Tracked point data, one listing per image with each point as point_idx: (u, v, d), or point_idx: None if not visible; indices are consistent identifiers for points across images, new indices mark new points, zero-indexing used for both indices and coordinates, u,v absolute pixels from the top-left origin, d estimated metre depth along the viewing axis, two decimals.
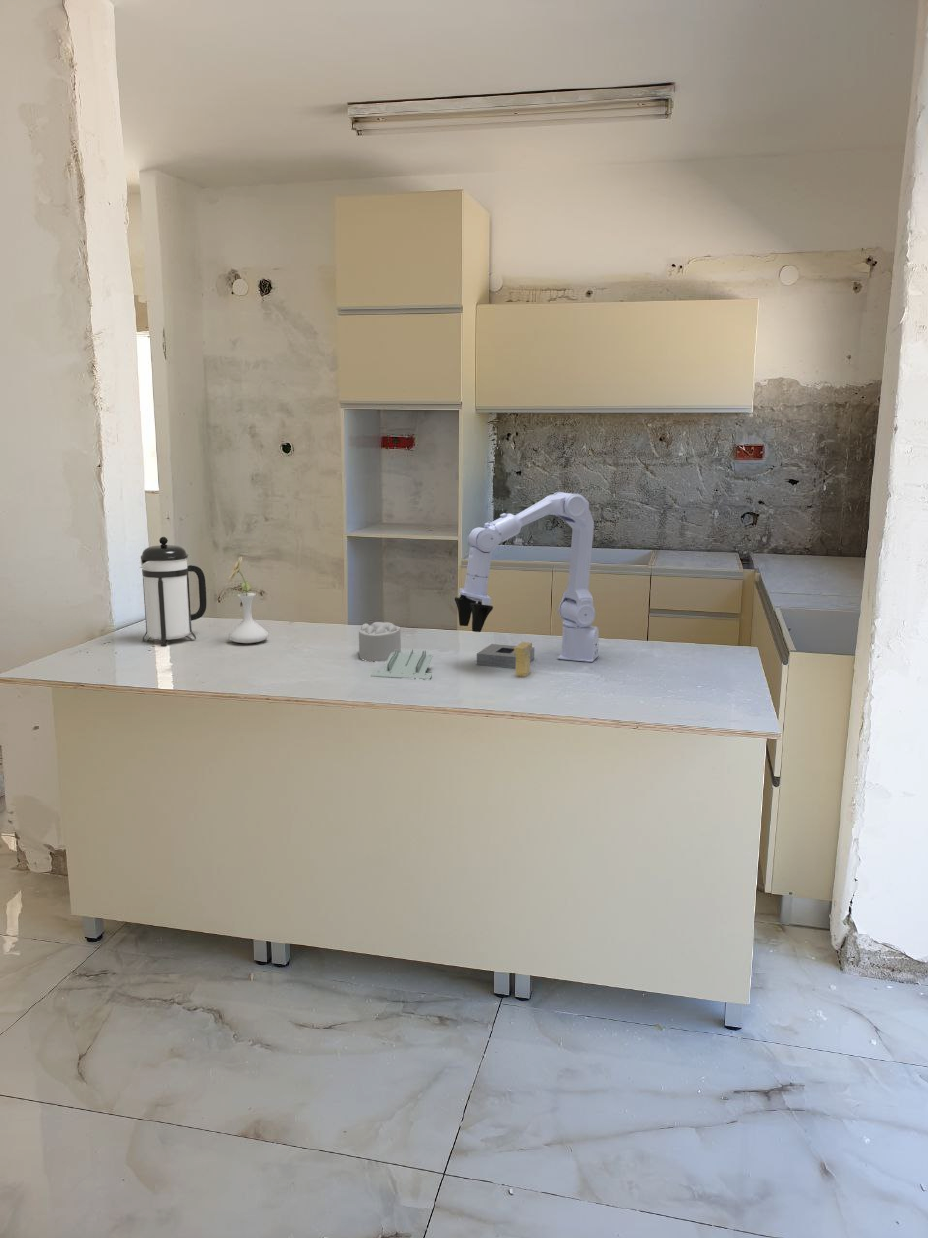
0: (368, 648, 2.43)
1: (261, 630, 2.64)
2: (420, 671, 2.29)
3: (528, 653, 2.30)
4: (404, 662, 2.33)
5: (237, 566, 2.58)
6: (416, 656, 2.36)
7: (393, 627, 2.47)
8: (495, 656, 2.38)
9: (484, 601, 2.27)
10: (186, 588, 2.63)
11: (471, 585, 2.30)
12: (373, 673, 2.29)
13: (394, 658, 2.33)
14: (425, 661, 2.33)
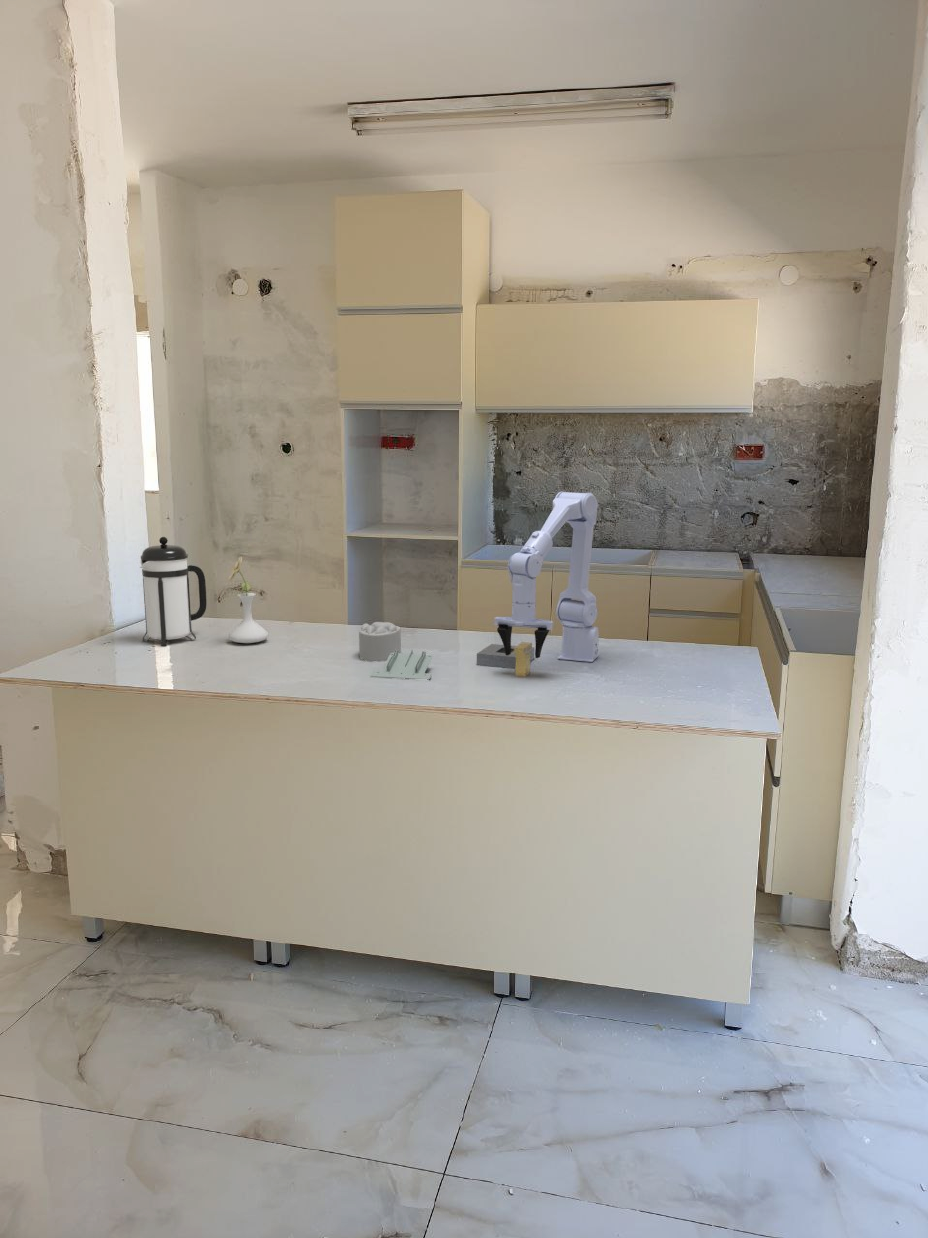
0: (368, 648, 2.43)
1: (261, 630, 2.64)
2: (419, 671, 2.29)
3: (528, 653, 2.30)
4: (404, 662, 2.33)
5: (237, 566, 2.59)
6: (416, 656, 2.35)
7: (393, 627, 2.47)
8: (495, 656, 2.38)
9: (551, 626, 2.25)
10: (186, 588, 2.63)
11: (528, 613, 2.25)
12: (372, 673, 2.29)
13: (393, 658, 2.33)
14: (425, 661, 2.33)
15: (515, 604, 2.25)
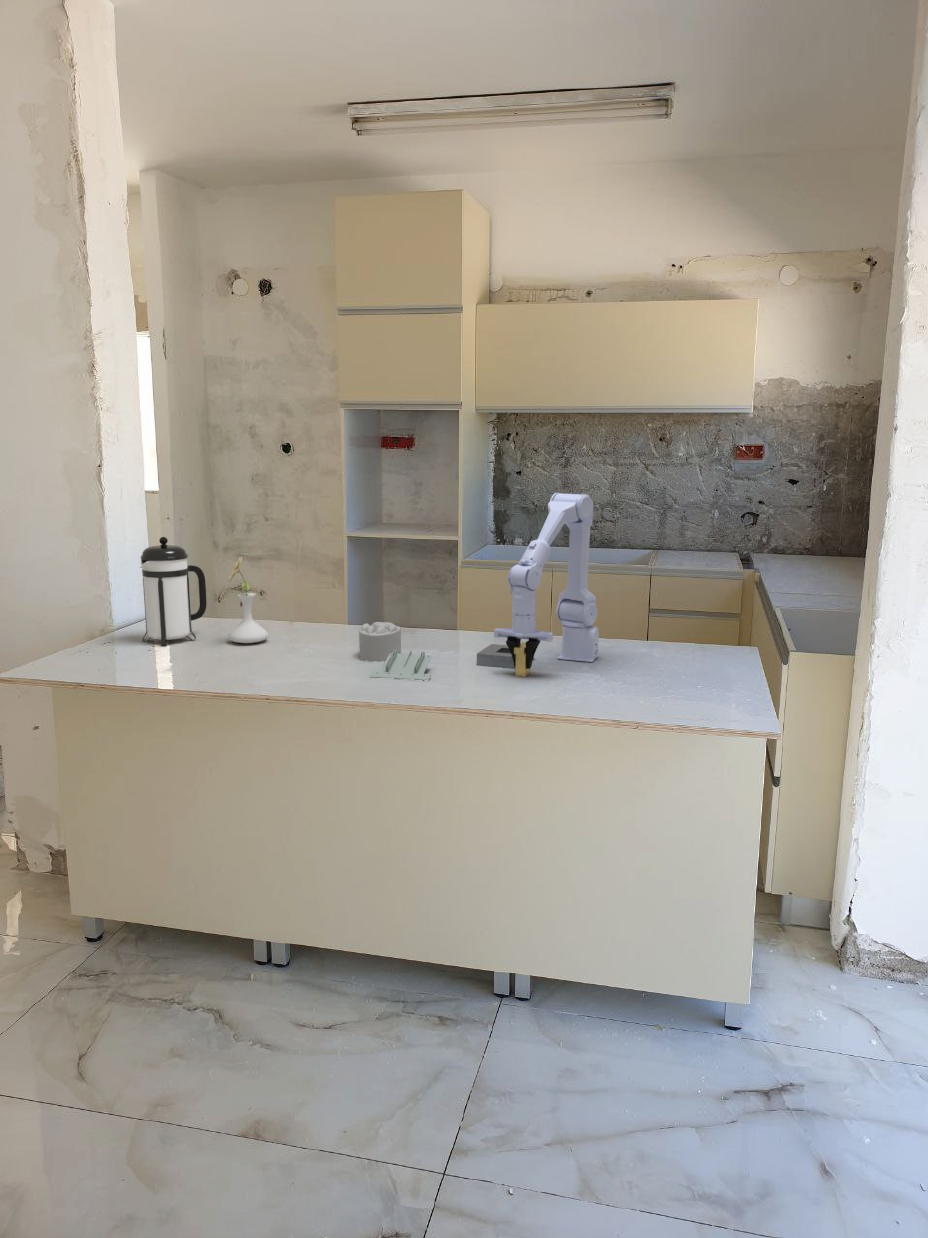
0: (368, 648, 2.43)
1: (261, 630, 2.64)
2: (419, 672, 2.28)
3: None
4: (403, 663, 2.32)
5: (237, 566, 2.58)
6: (415, 657, 2.35)
7: (393, 627, 2.47)
8: (495, 656, 2.38)
9: (550, 638, 2.25)
10: (186, 588, 2.63)
11: (528, 625, 2.25)
12: (371, 674, 2.28)
13: (392, 659, 2.32)
14: (424, 662, 2.32)
15: (515, 616, 2.26)
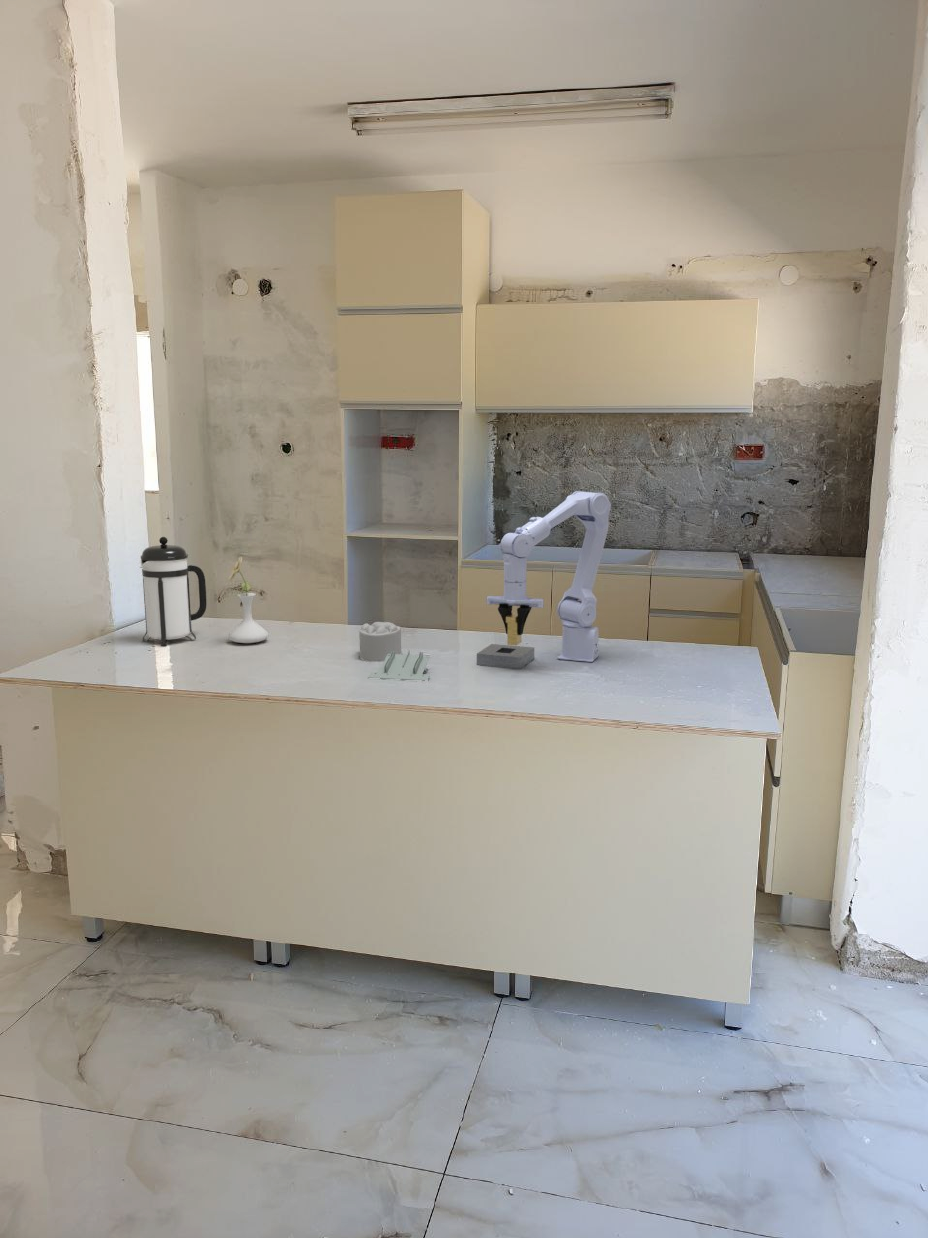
0: (368, 648, 2.43)
1: (261, 630, 2.64)
2: (417, 672, 2.28)
3: None
4: (401, 664, 2.32)
5: (237, 566, 2.59)
6: (413, 657, 2.34)
7: (394, 627, 2.47)
8: (495, 656, 2.38)
9: (541, 604, 2.31)
10: (186, 588, 2.63)
11: (519, 591, 2.31)
12: (370, 675, 2.27)
13: (391, 660, 2.32)
14: (422, 662, 2.32)
15: (506, 583, 2.31)
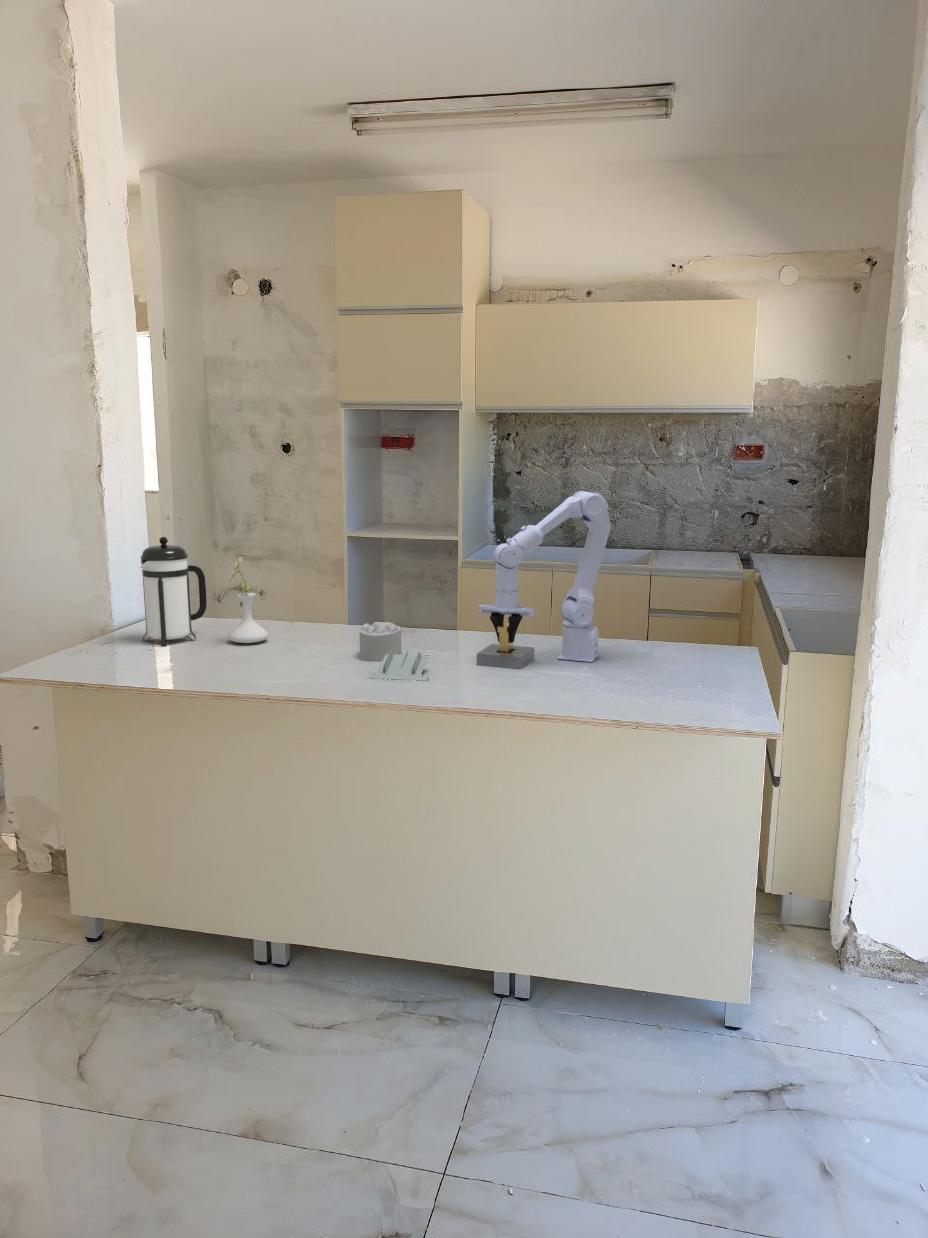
0: (369, 648, 2.43)
1: (261, 630, 2.64)
2: (416, 673, 2.27)
3: None
4: (399, 664, 2.32)
5: (237, 566, 2.59)
6: (411, 658, 2.34)
7: (394, 627, 2.47)
8: (495, 656, 2.38)
9: (532, 613, 2.38)
10: (186, 588, 2.63)
11: (510, 601, 2.38)
12: (369, 675, 2.27)
13: (389, 660, 2.31)
14: (420, 663, 2.32)
15: (498, 592, 2.38)
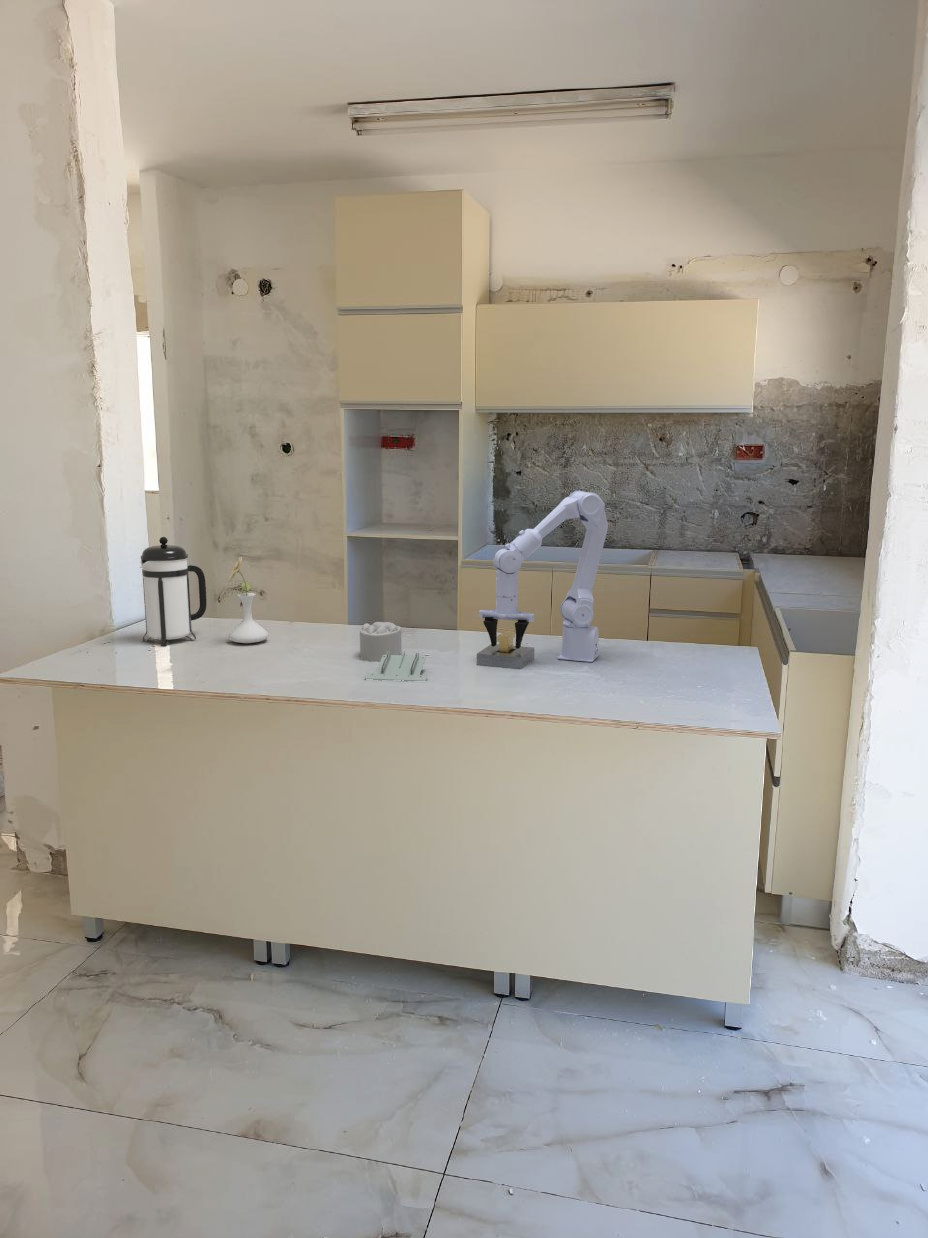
0: (369, 648, 2.43)
1: (261, 630, 2.64)
2: (415, 673, 2.27)
3: (511, 641, 2.43)
4: (397, 664, 2.31)
5: (237, 566, 2.59)
6: (409, 658, 2.34)
7: (394, 627, 2.47)
8: (495, 656, 2.38)
9: (532, 618, 2.38)
10: (186, 588, 2.63)
11: (510, 606, 2.38)
12: (367, 676, 2.26)
13: (387, 660, 2.31)
14: (418, 663, 2.31)
15: (498, 598, 2.38)
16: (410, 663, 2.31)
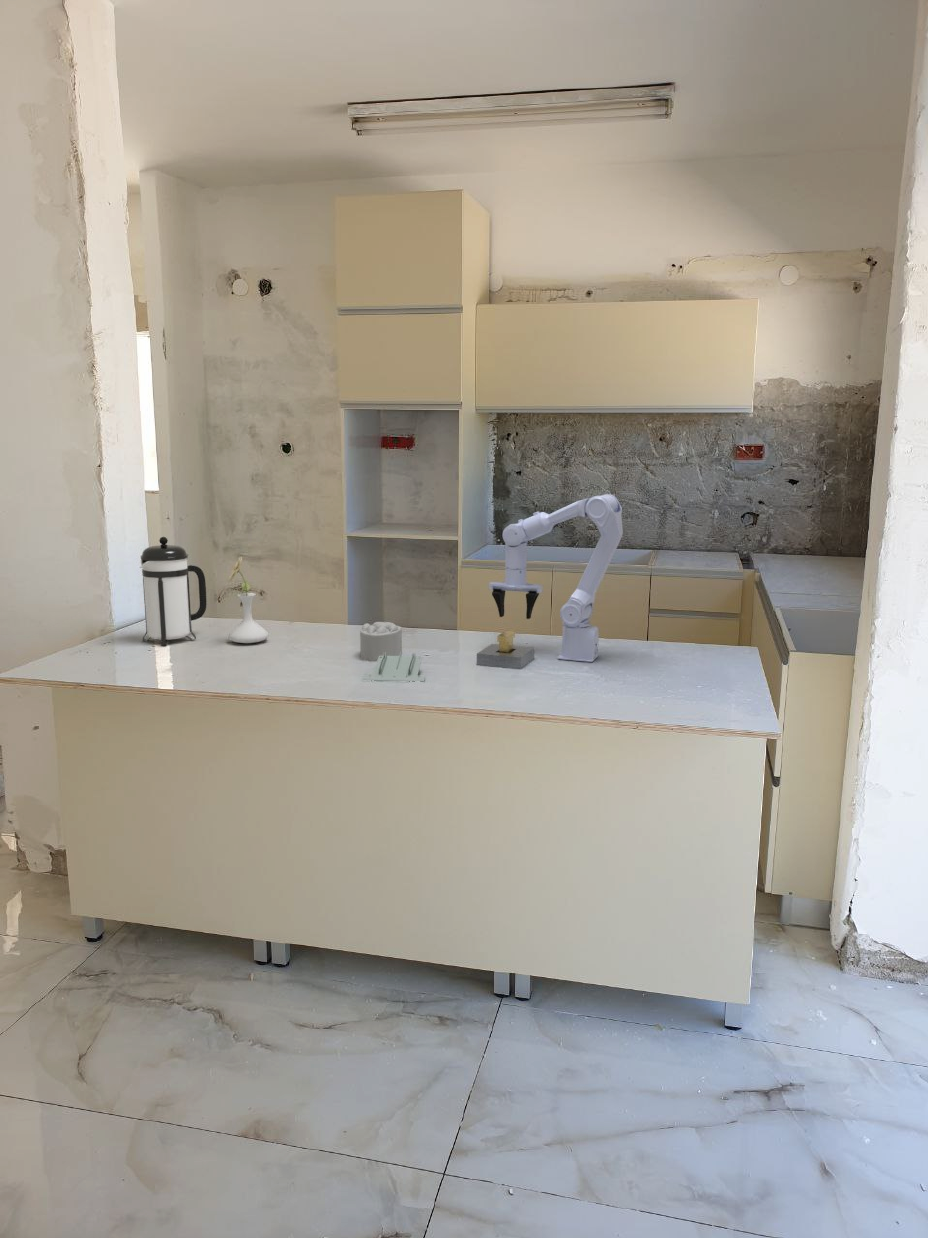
0: (369, 648, 2.43)
1: (261, 630, 2.64)
2: (412, 674, 2.26)
3: (511, 641, 2.43)
4: (394, 665, 2.30)
5: (237, 566, 2.59)
6: (405, 659, 2.33)
7: (394, 627, 2.47)
8: (495, 656, 2.38)
9: (540, 589, 2.49)
10: (186, 588, 2.63)
11: (520, 578, 2.49)
12: (365, 677, 2.25)
13: (384, 661, 2.30)
14: (415, 663, 2.31)
15: (508, 570, 2.49)
16: (407, 664, 2.31)
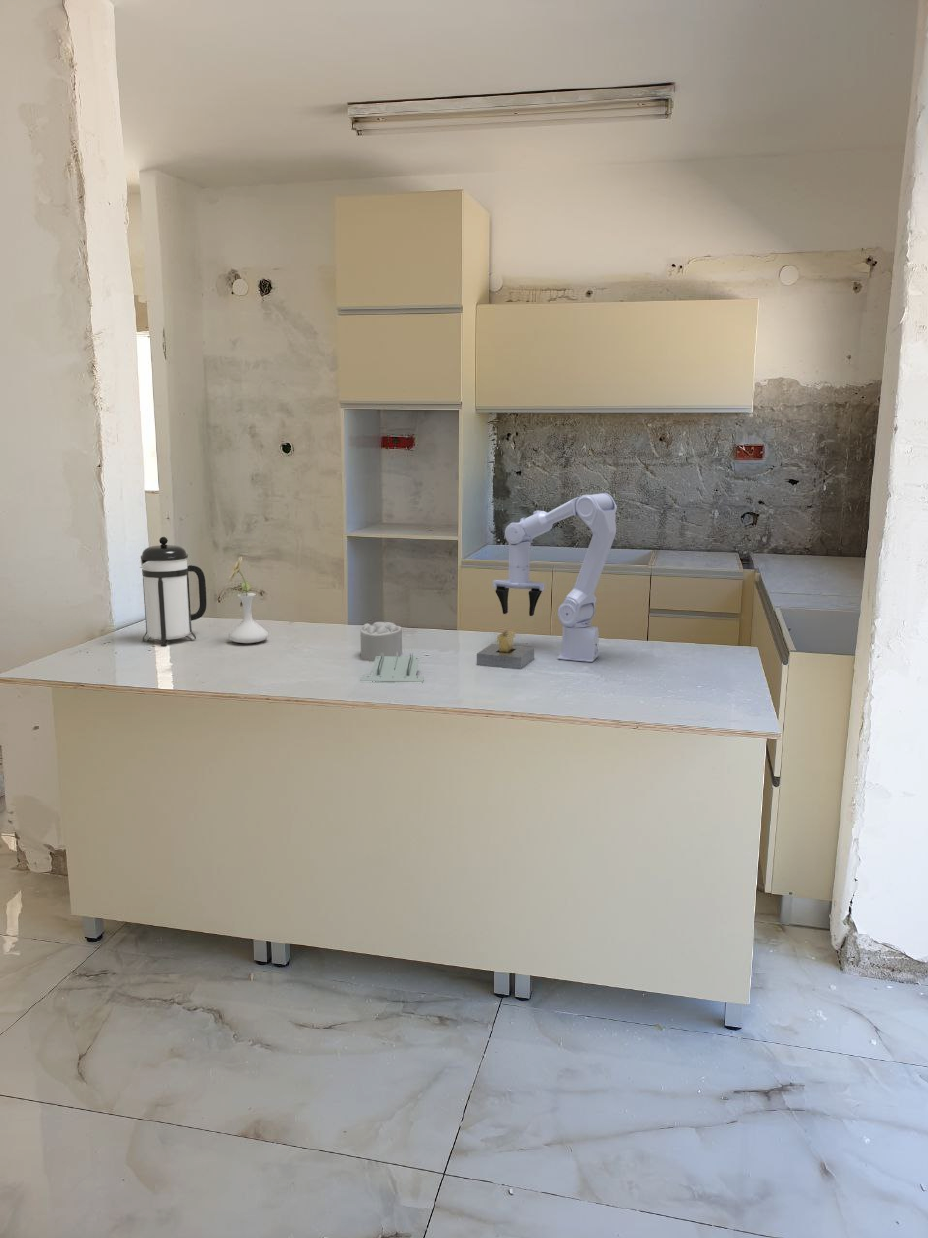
0: (370, 648, 2.43)
1: (261, 630, 2.64)
2: (411, 674, 2.26)
3: (511, 641, 2.43)
4: (392, 666, 2.30)
5: (237, 566, 2.58)
6: (402, 659, 2.33)
7: (395, 627, 2.47)
8: (495, 656, 2.38)
9: (543, 587, 2.53)
10: (186, 588, 2.63)
11: (523, 575, 2.53)
12: (363, 678, 2.24)
13: (381, 662, 2.29)
14: (413, 664, 2.30)
15: (511, 568, 2.53)
16: (405, 664, 2.30)
